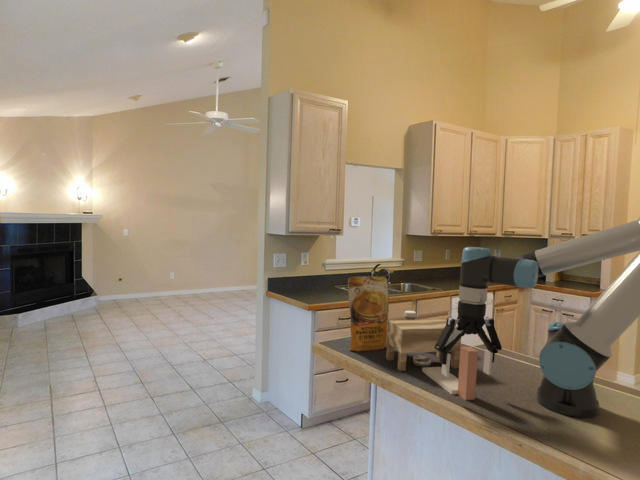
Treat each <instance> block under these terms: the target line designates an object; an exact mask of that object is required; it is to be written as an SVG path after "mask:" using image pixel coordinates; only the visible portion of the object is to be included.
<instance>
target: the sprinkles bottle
mask: <svg viewBox="0 0 640 480" xmlns="http://www.w3.org/2000/svg"><path fill="white" fill-rule="evenodd" d="M416 317H417V312H416V311H414V310H405V311H404V320H416V319H417V318H416Z"/></svg>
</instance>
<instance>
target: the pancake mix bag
mask: <svg viewBox="0 0 640 480" xmlns="http://www.w3.org/2000/svg"><path fill="white" fill-rule="evenodd" d="M347 291H348V308H349V314H350V315H349V316H350V326H349V327H350V328H349V329H350V343H349V344H350V345H349V348H348V349H349V351H353V352H369V351H379V350H380V351H381V350H384V349H385V348H387V331H388V320H389V308H390V307H389V306H390V298H389V297H390V296H389V295H390V294H389V281H388V278H386V276H384V275H374V276H372V275H371V276H370V275H358V276H357V275H355V276H354V275H353V276H350V277H348V278H347Z"/></svg>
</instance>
